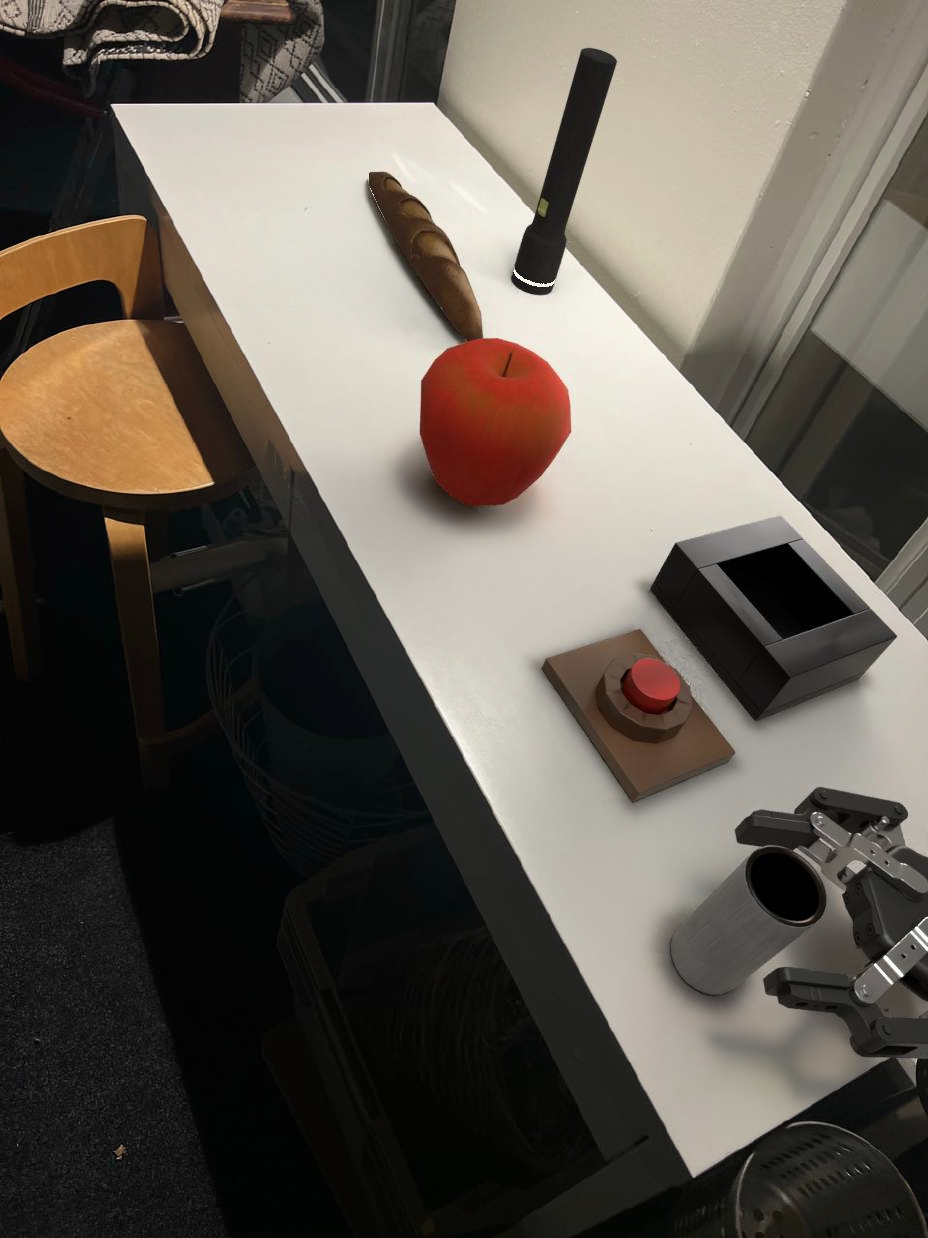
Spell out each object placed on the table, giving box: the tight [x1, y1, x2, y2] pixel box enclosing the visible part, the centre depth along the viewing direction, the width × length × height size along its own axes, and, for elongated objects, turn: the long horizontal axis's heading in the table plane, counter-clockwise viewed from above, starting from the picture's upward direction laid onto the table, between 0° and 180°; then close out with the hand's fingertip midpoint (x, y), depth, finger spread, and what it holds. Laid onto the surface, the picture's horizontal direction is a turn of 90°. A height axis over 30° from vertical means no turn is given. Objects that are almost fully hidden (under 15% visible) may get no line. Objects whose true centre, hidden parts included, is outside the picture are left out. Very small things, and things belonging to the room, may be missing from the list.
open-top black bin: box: [649, 514, 898, 721], centre depth 72 cm, size 14×12×6 cm
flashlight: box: [510, 47, 618, 296], centre depth 96 cm, size 5×24×5 cm
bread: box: [368, 171, 484, 342], centre depth 100 cm, size 38×5×5 cm, turn 21°
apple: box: [419, 337, 572, 508], centre depth 73 cm, size 12×12×14 cm
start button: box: [623, 658, 680, 714], centre depth 63 cm, size 4×4×2 cm
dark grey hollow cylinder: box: [670, 845, 828, 996], centre depth 51 cm, size 4×4×10 cm
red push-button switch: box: [541, 628, 736, 803], centre depth 65 cm, size 12×9×3 cm
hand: (755, 900), depth 49 cm, fingers open, 8 cm apart
